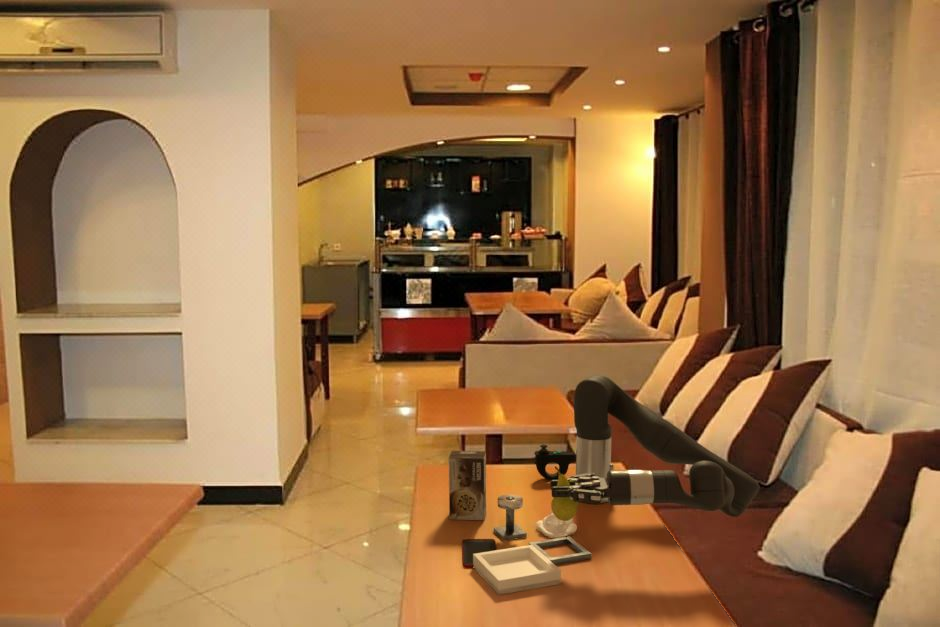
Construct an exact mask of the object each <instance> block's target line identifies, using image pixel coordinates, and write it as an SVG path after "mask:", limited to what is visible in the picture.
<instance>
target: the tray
mask: <svg viewBox="0 0 940 627" xmlns="http://www.w3.org/2000/svg"><path fill="white" fill-rule="evenodd" d="M473 565H474V568H475V569H476V570H475V569H474V568H473V569H474V570H475V571H476V572H477V573H478V574H479V576H480V577H481V578H482V579H483V580H484V581H485V582H486V583H487V584H488V585H489V586H490V587H491V589H493V591H495V593H496V594H497V595H499V596H500V595H505V594H511V593H517V592H523V591H527V590H534V589H538V588H539V589H540V588H545V587H550V586H556V585H560V584H562V583H561V582H562V579H561V578H562V570H561V569H560V568H559V566H557V564H556V565H555V564H553V563H552V562H551V561H550V560H549V559H548V558H546V557H545V556H544V555H543V554H542V553H541V552H539V551H538V550H537V549H536V548H535V547H534V546H533V545H529V544H528V545H522V546H515V547H514V546H513V547H509V548H503V549H497V550H495V551H489V552H482V553H476V554H473Z"/></svg>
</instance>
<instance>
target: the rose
mask: <svg viewBox="0 0 940 627" xmlns="http://www.w3.org/2000/svg"><path fill="white" fill-rule="evenodd" d="M535 526H536V529H537V530H538V532H539V531H540V532H539V533H541V532H542V534H543V535H544V536H545V537H547V536H548V537H547V538H550V537H552V538H551V539H556V538H562V537H566V536H567V537H569V536H571V534H572V535H574V534H575V532H577V528H578V526H577V524H576V523H574V519H573V518H571V519H570V520H568V521H562V520H559V519H558V518H557V517H556V516H555V515H554V513H553V512H551V513H549V515H546V516H544V518H543V519H542V520H537V521H536V523H535ZM568 535H569V536H568Z"/></svg>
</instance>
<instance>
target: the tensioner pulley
mask: <svg viewBox="0 0 940 627" xmlns="http://www.w3.org/2000/svg"><path fill="white" fill-rule="evenodd" d="M523 506H524V498H523V497H522V496H520V495H517V494H502V495H499V496H498V497H497V507H498V508H500V509H503V510H505V525H501V526H494V527H493V533H495V535H496V536H498V537H499V538H500V539H501V540H502V539H503V540H505V541H510V540H509V539H511V540H516V539H515V538H518V539H523V538H522V537H524V538H527V535H528V534H527V532H526V531H525V530H524V529H523V528H521V527H520V526H519V525H518V524H515V510H519V509H521V508H523Z"/></svg>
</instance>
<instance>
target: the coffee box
mask: <svg viewBox="0 0 940 627" xmlns="http://www.w3.org/2000/svg"><path fill="white" fill-rule="evenodd" d="M448 456H449V457H448V485H449V486H448V489H449V490H448V496H449V497H448V500H449V502H448V503H449V504H448V506H449V508H448V510H449V511H448V513H449V518H448V519H449V520H462V521H463V520H465V521H485V520H486V516H487V451H485V450H484V451H481V450H475V451H474V450H451V451H450V454H449V455H448Z"/></svg>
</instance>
